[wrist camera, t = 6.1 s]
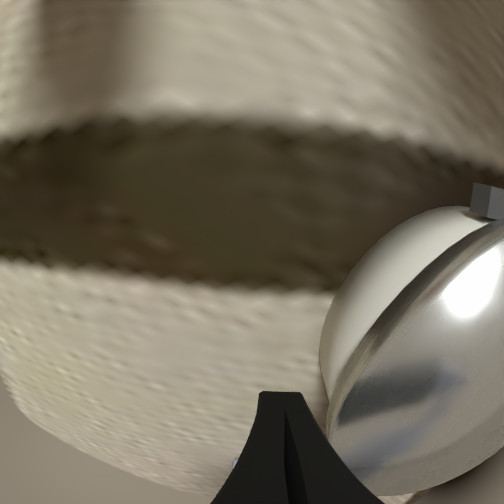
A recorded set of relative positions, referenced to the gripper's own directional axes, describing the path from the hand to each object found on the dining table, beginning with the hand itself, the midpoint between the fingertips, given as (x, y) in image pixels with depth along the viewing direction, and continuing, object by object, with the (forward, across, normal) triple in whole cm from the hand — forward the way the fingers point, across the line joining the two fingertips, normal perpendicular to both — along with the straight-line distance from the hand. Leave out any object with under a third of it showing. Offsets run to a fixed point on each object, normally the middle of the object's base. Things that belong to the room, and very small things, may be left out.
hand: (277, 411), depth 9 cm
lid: (+1, -10, 0) cm, 10 cm away
